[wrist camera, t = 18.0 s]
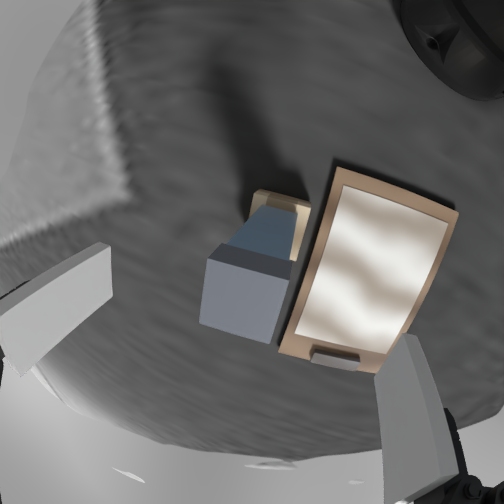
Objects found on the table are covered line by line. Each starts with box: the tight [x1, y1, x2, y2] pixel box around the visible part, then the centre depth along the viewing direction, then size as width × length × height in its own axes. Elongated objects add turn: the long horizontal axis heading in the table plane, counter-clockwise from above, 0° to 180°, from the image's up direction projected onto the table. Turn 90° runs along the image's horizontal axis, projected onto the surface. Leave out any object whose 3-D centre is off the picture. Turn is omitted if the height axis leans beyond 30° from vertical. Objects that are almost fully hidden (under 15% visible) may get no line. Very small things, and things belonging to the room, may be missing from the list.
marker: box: [199, 205, 298, 344], centre depth 19 cm, size 4×4×14 cm
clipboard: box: [278, 167, 459, 373], centre depth 27 cm, size 22×14×1 cm, turn 168°
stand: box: [248, 189, 311, 261], centre depth 25 cm, size 5×5×3 cm
